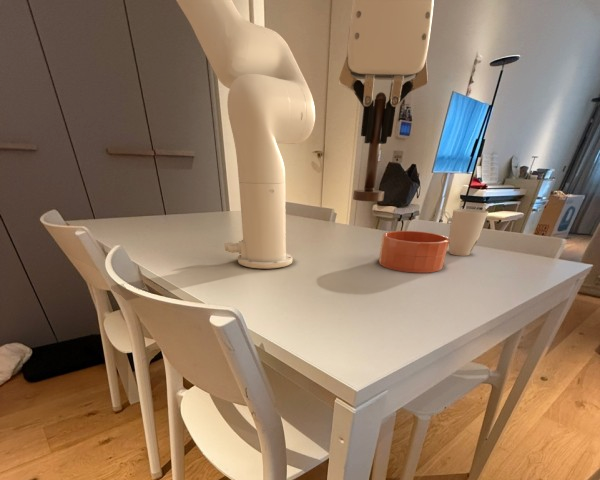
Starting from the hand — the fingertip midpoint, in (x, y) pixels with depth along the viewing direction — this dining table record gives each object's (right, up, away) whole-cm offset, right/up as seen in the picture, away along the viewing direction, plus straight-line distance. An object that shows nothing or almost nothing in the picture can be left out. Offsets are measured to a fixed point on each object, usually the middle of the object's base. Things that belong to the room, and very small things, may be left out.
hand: (375, 142), depth 49 cm
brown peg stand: (0, -6, +4) cm, 7 cm away
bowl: (+15, -6, +30) cm, 34 cm away
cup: (+31, +1, +40) cm, 51 cm away
